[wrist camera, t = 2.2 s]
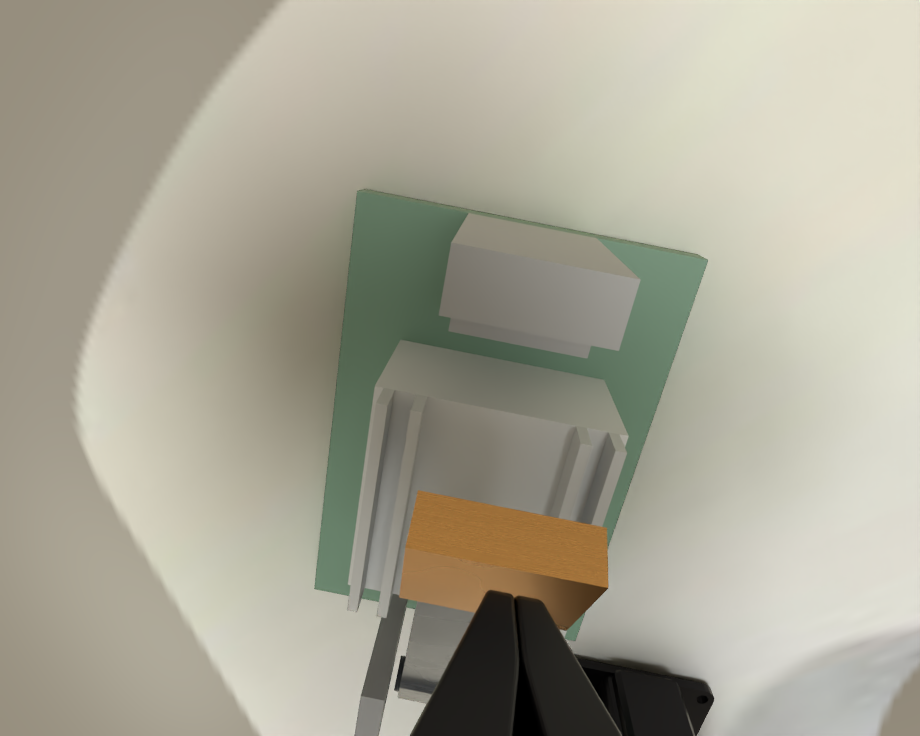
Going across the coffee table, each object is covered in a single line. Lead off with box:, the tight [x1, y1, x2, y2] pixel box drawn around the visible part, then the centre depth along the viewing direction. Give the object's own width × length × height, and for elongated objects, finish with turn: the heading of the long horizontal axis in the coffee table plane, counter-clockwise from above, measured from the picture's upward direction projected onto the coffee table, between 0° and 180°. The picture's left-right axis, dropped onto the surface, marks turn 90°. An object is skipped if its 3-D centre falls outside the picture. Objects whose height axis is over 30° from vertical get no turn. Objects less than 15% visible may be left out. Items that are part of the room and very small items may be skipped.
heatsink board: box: [314, 189, 708, 736], centre depth 18 cm, size 16×11×7 cm
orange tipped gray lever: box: [394, 490, 608, 703], centre depth 14 cm, size 12×3×1 cm, turn 171°
